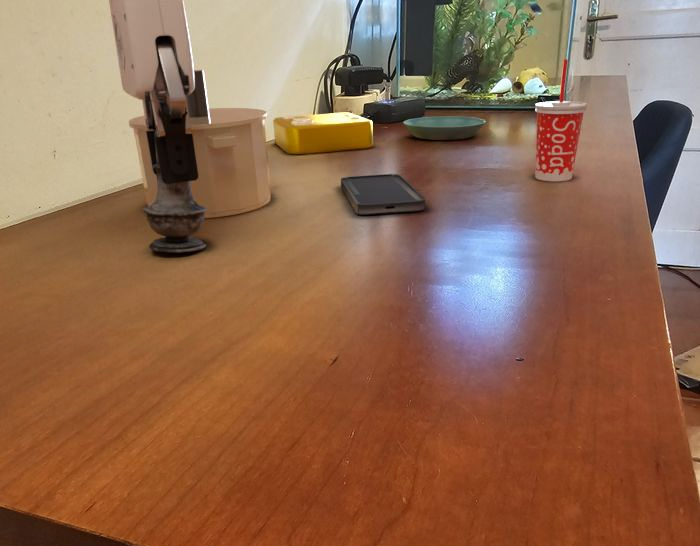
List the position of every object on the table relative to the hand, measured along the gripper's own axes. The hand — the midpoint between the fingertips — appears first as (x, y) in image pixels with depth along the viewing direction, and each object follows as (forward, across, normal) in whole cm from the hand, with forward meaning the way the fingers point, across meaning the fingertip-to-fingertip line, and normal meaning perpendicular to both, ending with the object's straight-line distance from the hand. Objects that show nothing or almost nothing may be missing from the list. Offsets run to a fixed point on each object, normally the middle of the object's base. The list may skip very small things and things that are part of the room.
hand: (175, 175), depth 59 cm
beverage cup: (+7, -4, +49) cm, 49 cm away
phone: (+7, -7, +25) cm, 26 cm away
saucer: (+7, -42, +56) cm, 71 cm away
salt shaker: (+7, 0, -1) cm, 7 cm away
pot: (+7, -16, +6) cm, 19 cm away
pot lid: (-3, -16, +6) cm, 18 cm away
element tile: (+7, -47, +34) cm, 58 cm away
